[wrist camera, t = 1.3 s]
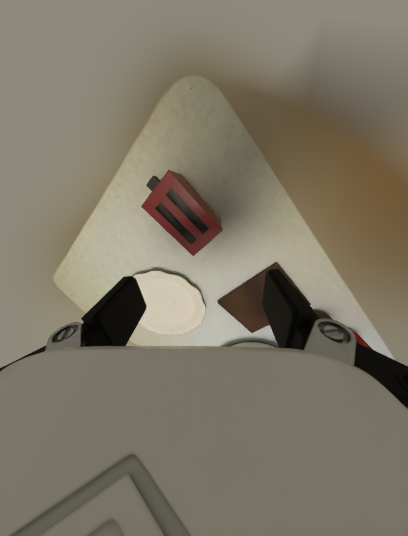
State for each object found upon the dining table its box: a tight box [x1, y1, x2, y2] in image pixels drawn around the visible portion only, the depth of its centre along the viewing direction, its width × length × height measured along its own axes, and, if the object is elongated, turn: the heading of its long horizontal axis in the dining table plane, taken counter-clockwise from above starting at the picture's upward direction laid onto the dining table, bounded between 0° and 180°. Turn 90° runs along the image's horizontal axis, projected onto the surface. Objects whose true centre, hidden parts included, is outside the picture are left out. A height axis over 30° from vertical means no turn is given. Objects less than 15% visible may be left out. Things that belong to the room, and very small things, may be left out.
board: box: [218, 262, 311, 333], centre depth 35 cm, size 16×14×1 cm
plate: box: [133, 271, 206, 335], centre depth 37 cm, size 21×21×2 cm
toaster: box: [141, 170, 222, 256], centre depth 23 cm, size 6×11×7 cm, turn 44°
